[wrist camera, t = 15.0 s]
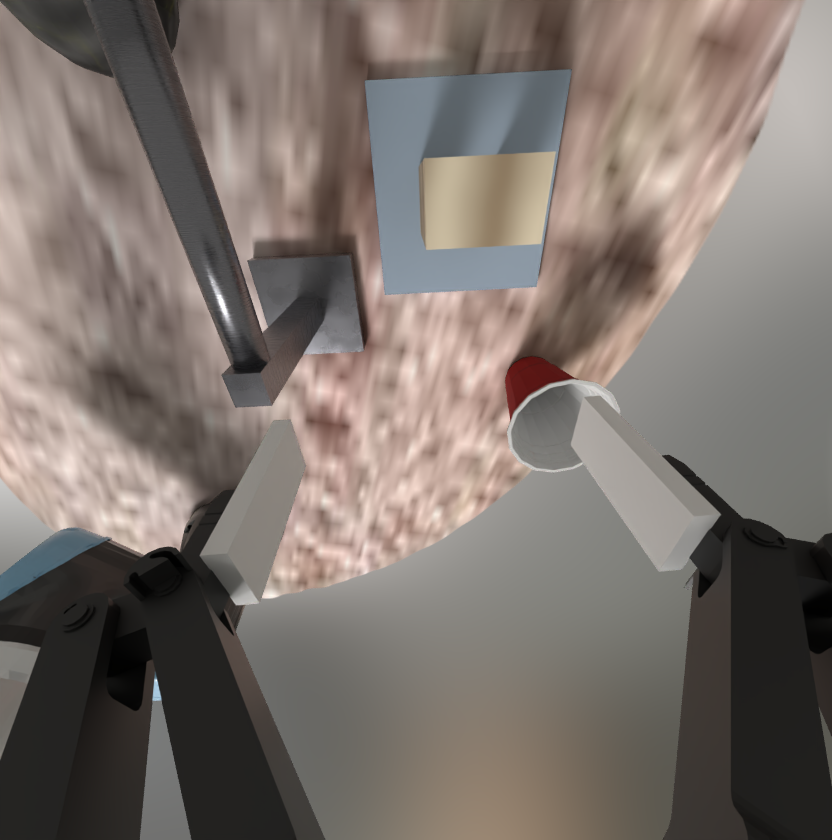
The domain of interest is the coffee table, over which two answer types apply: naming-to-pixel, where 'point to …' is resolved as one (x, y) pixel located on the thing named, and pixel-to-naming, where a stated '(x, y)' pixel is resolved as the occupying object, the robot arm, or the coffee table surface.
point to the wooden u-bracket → (484, 199)
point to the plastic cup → (546, 413)
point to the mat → (452, 137)
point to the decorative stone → (79, 28)
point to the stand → (224, 224)
